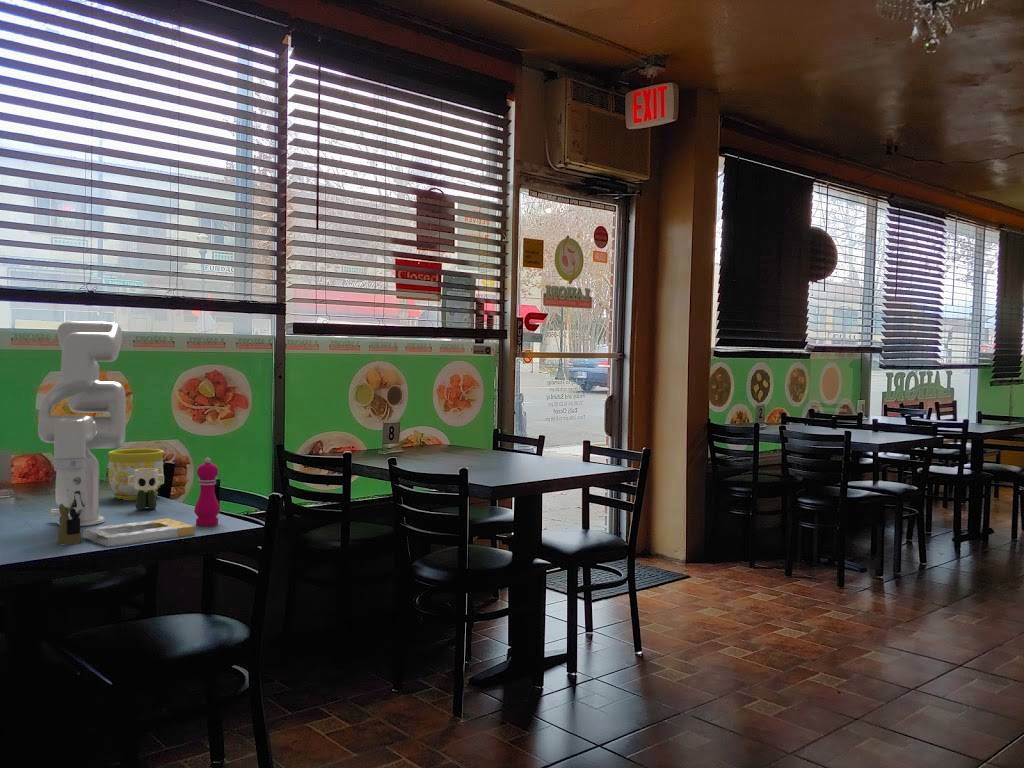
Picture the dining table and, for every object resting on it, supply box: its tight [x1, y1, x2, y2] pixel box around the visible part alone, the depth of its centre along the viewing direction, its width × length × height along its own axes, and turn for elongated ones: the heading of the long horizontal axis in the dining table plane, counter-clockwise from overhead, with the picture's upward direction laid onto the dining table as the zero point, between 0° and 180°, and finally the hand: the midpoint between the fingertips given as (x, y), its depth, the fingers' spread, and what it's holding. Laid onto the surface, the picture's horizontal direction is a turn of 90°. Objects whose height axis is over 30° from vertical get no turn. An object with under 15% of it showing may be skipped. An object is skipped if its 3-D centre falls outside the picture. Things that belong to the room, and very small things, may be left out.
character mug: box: [128, 468, 165, 510], centre depth 286 cm, size 11×7×13 cm, turn 118°
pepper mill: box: [194, 457, 221, 527], centre depth 263 cm, size 7×7×20 cm
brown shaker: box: [56, 504, 83, 545], centre depth 235 cm, size 6×6×11 cm
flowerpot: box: [107, 448, 165, 501], centre depth 308 cm, size 18×18×16 cm
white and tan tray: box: [82, 518, 196, 548], centre depth 245 cm, size 24×16×2 cm, turn 137°
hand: (69, 531), depth 235 cm, fingers closed on brown shaker, 4 cm apart
